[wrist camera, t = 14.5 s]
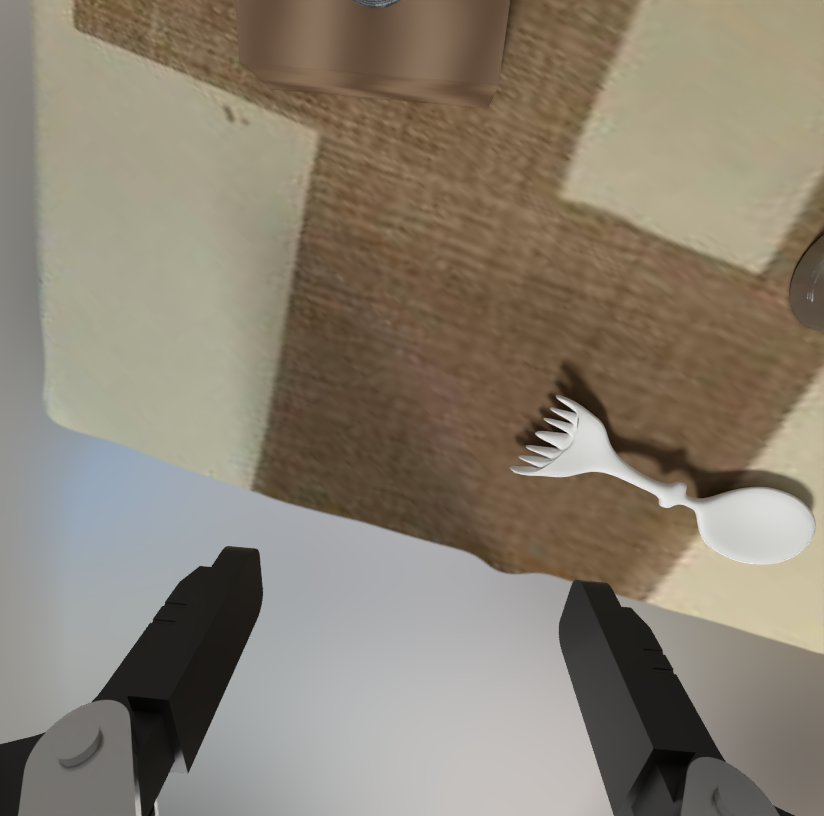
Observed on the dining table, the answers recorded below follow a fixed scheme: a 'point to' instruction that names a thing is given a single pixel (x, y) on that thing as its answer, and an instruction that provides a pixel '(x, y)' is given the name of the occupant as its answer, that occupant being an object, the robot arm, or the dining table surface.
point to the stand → (377, 48)
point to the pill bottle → (376, 3)
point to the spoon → (681, 493)
